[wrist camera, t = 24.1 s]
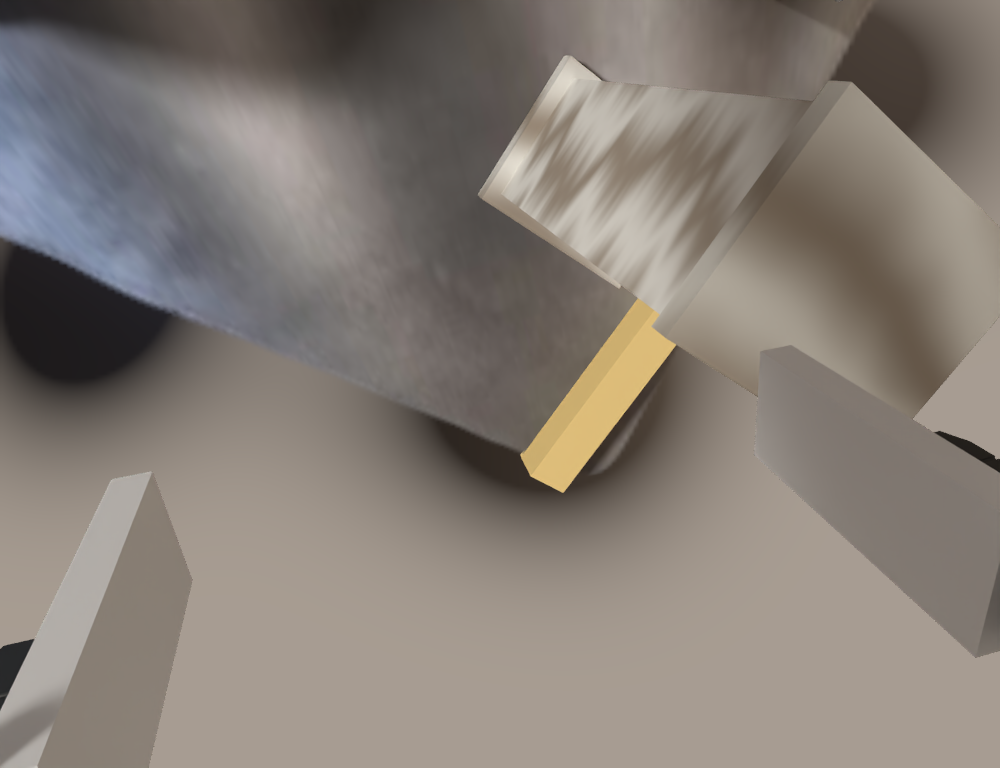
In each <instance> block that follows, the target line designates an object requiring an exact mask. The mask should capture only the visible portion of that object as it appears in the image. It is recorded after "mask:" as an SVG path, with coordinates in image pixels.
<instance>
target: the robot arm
mask: <svg viewBox="0 0 1000 768" xmlns="http://www.w3.org/2000/svg"><path fill="white" fill-rule="evenodd" d="M754 455H755V456H756V457H757V458H758V459H759V460H760V461H761V462H762V463H764V465H766V466H767V467H768V468H769V469H770V470H771V471H772V472H773V473H774V474H775V475H777V476H778V477H779V478H780V479H781V480H782V481H783V482H784V483H785V484H786V485H787V486H788V487H790V488H791V489H792V490H793V491H794V492H795V493H796V494H797V495H798V496H799V497H800V498H802V499H803V500H804V501H805V502H806V503H807V504H808V505H809V506H810V507H811V508H813V509H814V510H815V511H816V512H817V513H818V514H819V515H820V516H821V517H822V518H824V519H825V520H826V521H827V522H828V523H829V524H830V525H831V526H832V527H833V528H834V529H835V530H837V531H838V532H839V533H840V534H841V535H842V536H843V537H844V538H845V539H846V540H848V541H849V542H850V543H851V544H852V545H853V546H854V547H855V548H856V549H857V550H858V551H859V552H861V553H862V554H863V555H864V556H865V557H866V558H867V559H868V560H869V561H870V562H871V563H873V564H874V565H875V566H876V567H877V568H878V569H879V570H880V571H881V572H882V573H883V574H885V575H886V576H887V577H888V578H889V579H890V580H891V581H892V582H893V583H894V584H895V585H897V586H898V587H899V588H900V589H901V590H902V591H903V592H904V593H906V595H907V596H909V597H910V598H911V599H912V600H913V601H914V602H915V603H916V604H917V605H918V606H919V607H921V608H922V609H923V610H924V611H925V612H926V613H927V614H928V615H929V616H931V617H932V618H933V619H934V620H935V621H936V622H937V623H938V624H940V626H941V627H943V628H944V629H945V630H946V631H947V632H948V633H949V634H950V635H951V636H952V637H954V639H956V640H957V641H958V642H959V643H960V644H961V645H962V646H963V647H964V648H965V649H967V650H968V651H969V652H970V653H971V654H972V655H973V656H974V657H975V658H977V657H980V656H983V655H987V654H990V653H994V652H997V651H1000V459H997V460H996V459H995V456H994V455H992V454H990V453H988V452H987V451H985V450H984V449H982V448H980V447H979V446H977V445H975V444H973V443H972V442H970V441H967V440H964V439H961V438H958V437H955V436H952V435H949V434H947V433H944V432H941V431H938V432H932V431H931V430H929V429H927V428H926V427H924V426H922V425H921V424H919V423H917V422H916V421H914V420H913V419H911V418H909V417H908V416H906V415H905V414H903V413H901V412H900V411H898V410H896V409H895V408H893V407H892V406H890V405H888V404H887V403H885V402H883V401H882V400H880V399H878V398H877V397H875V396H874V395H872V394H870V393H869V392H867V391H865V390H864V389H862V388H861V387H859V386H857V385H856V384H854V383H852V382H851V381H849V380H847V379H846V378H844V377H843V376H841V375H839V374H838V373H836V372H834V371H833V370H831V369H830V368H828V367H826V366H825V365H823V364H821V363H820V362H818V361H816V360H815V359H813V358H812V357H810V356H808V355H807V354H805V353H803V352H802V351H800V350H799V349H797V348H795V347H794V346H792V345H789V346H784V347H779V348H774V349H768V350H763V351H761V352H760V368H759V385H758V401H757V418H756V435H755V451H754ZM191 584H192V577H191V575H190V572H189V569H188V567H187V564H186V561H185V558H184V556H183V553H182V550H181V548H180V545H179V542H178V540H177V537H176V534H175V531H174V529H173V526H172V523H171V520H170V518H169V515H168V512H167V510H166V507H165V504H164V501H163V499H162V496H161V493H160V490H159V488H158V485H157V482H156V480H155V477H154V474H153V472H152V471H151V472H147V473H141V474H136V475H131V476H126V477H122V478H116V479H112V480H111V481H110V483H109V485H108V487H107V490H106V492H105V494H104V496H103V498H102V500H101V502H100V504H99V506H98V508H97V510H96V512H95V515H94V517H93V519H92V521H91V523H90V525H89V527H88V529H87V531H86V533H85V536H84V537H83V540H82V542H81V544H80V546H79V548H78V550H77V552H76V554H75V556H74V558H73V561H72V562H71V565H70V567H69V569H68V571H67V573H66V575H65V577H64V579H63V581H62V584H61V585H60V587H59V589H58V592H57V594H56V596H55V598H54V600H53V602H52V604H51V606H50V608H49V610H48V612H47V614H46V617H45V619H44V621H43V623H42V625H41V627H40V629H39V631H38V633H37V635H36V637H35V639H32V640H28V641H23V642H19V643H14V644H10V645H6V646H3V647H2V648H1V649H0V768H149V763H150V760H151V755H152V751H153V747H154V742H155V738H156V734H157V729H158V725H159V721H160V717H161V713H162V708H163V704H164V700H165V695H166V691H167V687H168V683H169V678H170V674H171V670H172V666H173V661H174V656H175V653H176V648H177V644H178V640H179V636H180V632H181V627H182V623H183V619H184V615H185V610H186V606H187V602H188V597H189V593H190V588H191Z"/></svg>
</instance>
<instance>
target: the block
mask: <svg viewBox="0 0 1000 768" xmlns="http://www.w3.org/2000/svg"><path fill="white" fill-rule="evenodd" d="M659 315H660V314H659V313H657V312H656V311H655V310H653V309H652V308H651V307H649V306H648V305H647V304H645V303H644V302H643V301H641V300H640V299H639V298H638V299H637V301H636V302H635V303H634V305H633V306H632V307H631V309H630V310H629V311H628V313H627V314H626V316H625V317H624V318H623V320H622V321H621V322H620V324H619V325H618V326H617V328H616V329H615V330H614V332H613V333H612V335H611V336H610V337H609V339H608V340H607V341H606V343H605V344H604V345H603V347H602V348H601V349H600V351H599V352H598V354H597V355H596V356H595V358H594V359H593V360H592V362H591V363H590V364H589V366H588V367H587V368H586V370H585V371H584V373H583V374H582V375H581V377H580V378H579V379H578V381H577V382H576V383H575V385H574V386H573V387H572V389H571V390H570V392H569V393H568V394H567V396H566V397H565V398H564V400H563V401H562V402H561V404H560V405H559V406H558V408H557V409H556V411H555V412H554V413H553V415H552V416H551V417H550V419H549V420H548V421H547V423H546V424H545V426H544V427H543V428H542V430H541V431H540V432H539V434H538V435H537V436H536V438H535V439H534V440H533V442H532V443H531V445H530V446H529V447H528V449H527V450H526V451H525V453H523V452H522V453H521V455H520V456H521V458H522V460H523V462H524V464H525V466H526V468H527V470H528V472H529V474H530V476H531V477H534V478H535V479H537V480H539V481H541V482H543V483H545V484H547V485H549V486H551V487H553V488H555V489H557V490H559V491H561V492H564V491H565V490H566V489H567V487H568V486H569V485H570V483H571V482H572V481H573V479H574V478H575V477H576V475H577V474H578V473H579V472H580V470H581V469H582V468H583V466H584V465H585V464H586V462H587V461H588V460H589V458H590V457H591V456H592V455H593V453H594V452H595V451H596V449H597V448H598V447H599V445H600V444H601V443H602V441H603V440H604V439H605V438H606V436H607V435H608V434H609V432H610V431H611V430H612V428H613V427H614V426H615V424H616V423H617V422H618V421H619V419H620V418H621V417H622V415H623V414H624V413H625V411H626V410H627V409H628V407H629V406H630V405H631V404H632V402H633V401H634V400H635V398H636V397H637V396H638V394H639V393H640V392H641V390H642V389H643V388H644V386H645V385H646V384H647V383H648V381H649V380H650V379H651V377H652V376H653V375H654V373H655V372H656V371H657V369H658V368H659V367H660V366H661V364H662V363H663V362H664V360H665V359H666V358H667V356H668V355H669V354H670V352H671V351H672V350H673V349H674V347H675V346H676V344H674V343H673V342H671V341H669V340H668V339H666V338H665V337H664V336H662V335H661V334H660V333H659V332H658V331H656V330H655V329H654V328H653V327H651V326H652V325H653V323H654V322H655V321H656V319H657V318H658V316H659Z"/></svg>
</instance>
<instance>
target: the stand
mask: <svg viewBox="0 0 1000 768" xmlns="http://www.w3.org/2000/svg"><path fill="white" fill-rule="evenodd" d="M478 196H479V197H480V198H482V199H483V200H484V201H486V202H488V203H489V204H491V205H492V206H494V207H495V208H497V209H498V210H500V211H501V212H503V213H504V214H506V215H507V216H509V217H510V218H512V219H514V220H515V221H517V222H518V223H520V224H521V225H523V226H524V227H526V228H527V229H529V230H530V231H532V232H533V233H535V234H536V235H538V236H540V237H541V238H543V239H544V240H546V241H547V242H549V243H550V244H552V245H553V246H555V247H556V248H558V249H559V250H561V251H562V252H564V253H565V254H567V255H569V256H570V257H572V258H573V259H575V260H576V261H578V262H579V263H581V264H582V265H584V266H585V267H587V268H588V269H590V270H591V271H593V272H595V273H596V274H598V275H599V276H601V277H602V278H604V279H605V280H607V281H608V282H610V283H611V284H613V285H614V286H616V287H617V288H620V287H621V285H622V286H623V287H624V288H626V289H627V290H628V291H630V292H631V293H632V294H634V295H635V296H636V297H637V298H639V299H640V300H641V301H643V302H644V303H645V304H647V305H648V306H649V307H651V308H652V309H653V310H655V311H656V312H657V313H659V314H660V315H659V316H658V318H657V319H656V321H655V322H654V323H653V325H652V326H651V327H653V328H654V329H655V330H656V331H658V332H659V333H660V334H661V335H662V336H664V337H665V338H666V339H668V340H669V341H671V342H673V343H674V344H676V345H677V346H679V347H680V348H682V349H684V350H685V351H687V352H688V353H690V354H691V355H693V356H695V357H696V358H698V359H699V360H701V361H702V362H704V363H706V364H707V365H709V366H710V367H712V368H713V369H715V370H716V371H718V372H720V373H721V374H723V375H724V376H726V377H727V378H729V379H731V380H732V381H734V382H735V383H737V384H738V385H740V386H741V387H743V388H745V389H746V390H748V391H749V392H751V393H752V394H754V395H755V396H757V397H758V385H759V368H760V352H761V351H763V350H768V349H774V348H779V347H784V346H789V345H792V346H794V347H795V348H797V349H799V350H800V351H802V352H803V353H805V354H807V355H808V356H810V357H812V358H813V359H815V360H816V361H818V362H820V363H821V364H823V365H825V366H826V367H828V368H830V369H831V370H833V371H834V372H836V373H838V374H839V375H841V376H843V377H844V378H846V379H847V380H849V381H851V382H852V383H854V384H856V385H857V386H859V387H861V388H862V389H864V390H865V391H867V392H869V393H870V394H872V395H874V396H875V397H877V398H878V399H880V400H882V401H883V402H885V403H887V404H888V405H890V406H892V407H893V408H895V409H896V410H898V411H900V412H901V413H903V414H905V415H906V416H908V417H909V418H911V419H913V418H914V417H915V415H916V414H917V413H918V412H919V411H920V409H921V408H922V407H923V406H924V405H925V404H926V402H927V401H928V400H929V399H930V398H931V397H932V395H933V394H934V393H935V392H936V391H937V389H938V388H939V387H940V386H941V385H942V384H943V382H944V381H945V380H946V379H947V378H948V377H949V375H950V374H951V373H952V372H953V371H954V369H955V368H956V367H957V366H958V365H959V364H960V362H961V361H962V360H963V359H964V358H965V357H966V355H967V354H968V353H969V352H970V351H971V350H972V348H973V347H974V346H975V345H976V344H977V342H978V341H979V340H980V339H981V338H982V336H983V335H984V334H985V333H986V332H987V331H988V329H989V328H990V327H991V326H992V325H993V324H994V323H995V321H996V320H997V319H998V318H999V316H1000V227H999V226H998V225H997V224H996V223H995V222H994V221H993V220H992V219H991V218H990V217H989V216H988V215H987V214H986V213H985V212H984V211H983V210H982V209H981V208H980V207H979V206H978V205H977V204H976V203H975V202H974V201H973V200H972V199H971V198H970V197H969V196H968V195H967V194H966V193H965V192H964V191H963V190H961V189H960V188H959V187H958V186H957V185H956V184H955V183H954V182H953V181H952V180H951V179H950V178H949V177H948V176H947V175H946V174H945V173H944V172H943V171H942V170H941V169H940V168H939V167H938V166H937V165H936V164H935V163H934V162H933V161H932V160H931V159H930V158H929V157H928V156H927V155H926V154H925V153H924V152H923V151H922V150H921V149H920V148H918V146H916V144H915V143H914V142H912V140H910V139H909V138H908V137H907V136H906V135H905V134H904V133H903V132H902V131H901V130H900V129H899V128H898V127H897V126H896V125H895V124H894V123H893V122H892V121H891V120H890V119H889V118H888V117H887V116H886V115H885V114H884V113H883V112H882V111H881V110H880V109H879V108H878V107H877V106H876V105H875V104H874V103H873V102H872V101H871V100H870V99H869V98H868V97H867V96H866V95H865V94H863V92H862V91H861V90H860V89H859V88H857V87H856V85H855V84H853V83H852V82H844V81H828V82H827V83H826V85H825V86H824V87H823V89H822V90H821V92H820V93H819V94H818V96H817V97H816V98H815V100H814V101H804V100H794V99H784V98H773V97H763V96H752V95H742V94H732V93H721V92H711V91H700V90H690V89H679V88H669V87H659V86H648V85H638V84H627V83H617V82H606V81H602V80H601V79H599V78H598V77H597V76H596V75H594V74H593V73H592V72H591V71H589V70H588V69H587V68H586V67H584V66H583V65H582V64H581V63H579V62H578V61H577V60H576V59H574V58H573V57H572V56H564V57H563V58H562V60H561V62H560V63H559V65H558V66H557V68H556V70H555V71H554V73H553V74H552V76H551V78H550V79H549V81H548V82H547V84H546V86H545V87H544V89H543V90H542V92H541V94H540V95H539V97H538V99H537V100H536V102H535V103H534V105H533V107H532V108H531V110H530V111H529V113H528V115H527V116H526V118H525V119H524V121H523V123H522V124H521V126H520V127H519V129H518V131H517V132H516V134H515V136H514V137H513V139H512V140H511V142H510V144H509V145H508V147H507V148H506V150H505V152H504V153H503V155H502V156H501V158H500V160H499V161H498V163H497V164H496V166H495V168H494V169H493V171H492V173H491V174H490V176H489V177H488V179H487V181H486V182H485V184H484V185H483V187H482V189H481V190H480V192H479V193H478Z"/></svg>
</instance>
